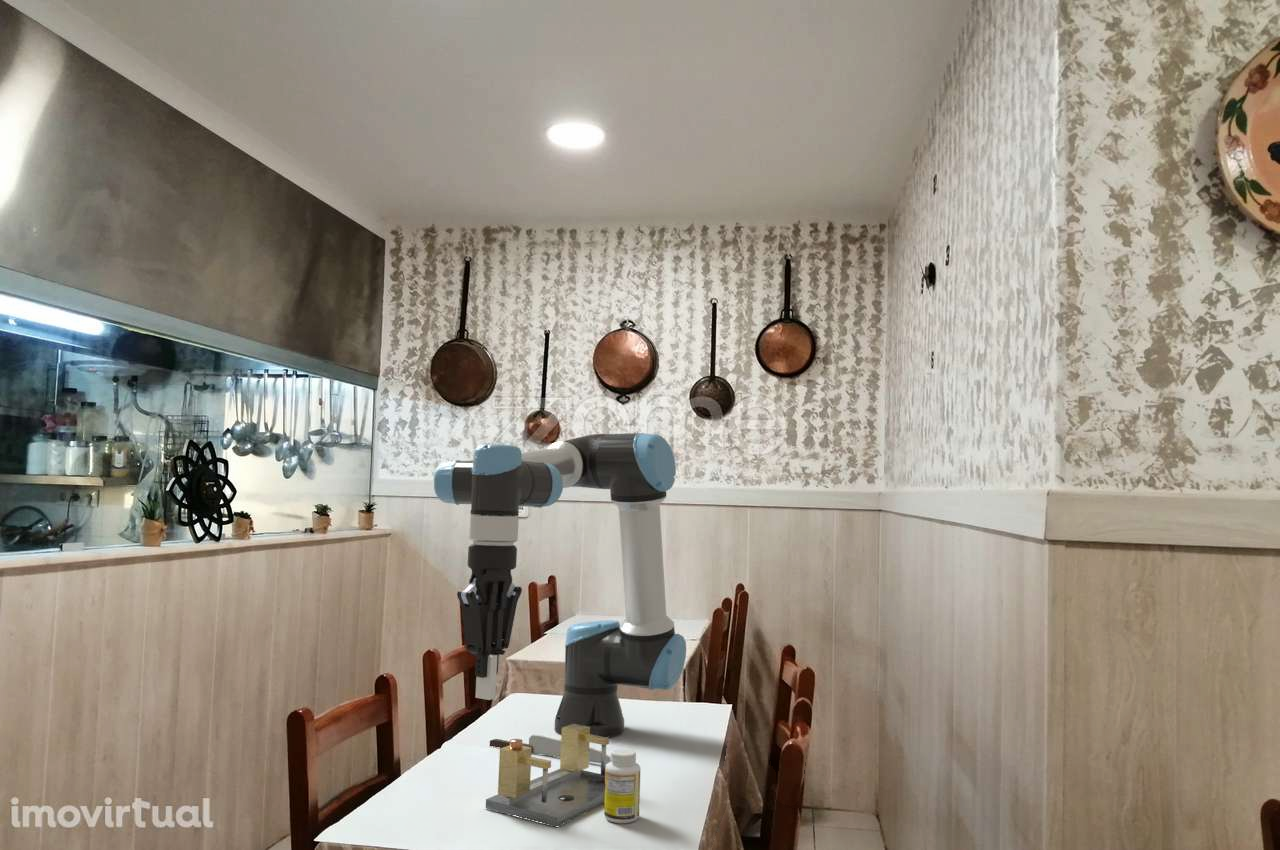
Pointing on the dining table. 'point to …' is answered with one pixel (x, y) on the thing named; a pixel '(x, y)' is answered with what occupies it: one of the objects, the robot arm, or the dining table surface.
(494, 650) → the robot arm
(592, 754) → the kitchen knife
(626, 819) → the supplement bottle
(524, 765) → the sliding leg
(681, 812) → the dining table surface
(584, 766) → the fixed leg
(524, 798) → the bolt plate
